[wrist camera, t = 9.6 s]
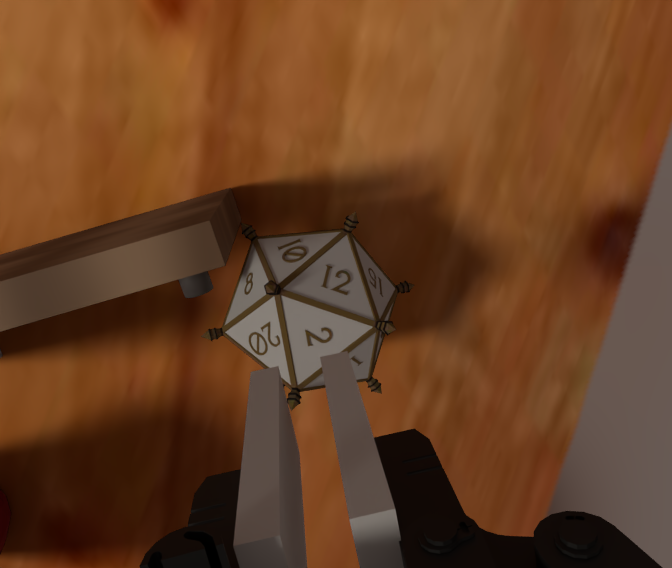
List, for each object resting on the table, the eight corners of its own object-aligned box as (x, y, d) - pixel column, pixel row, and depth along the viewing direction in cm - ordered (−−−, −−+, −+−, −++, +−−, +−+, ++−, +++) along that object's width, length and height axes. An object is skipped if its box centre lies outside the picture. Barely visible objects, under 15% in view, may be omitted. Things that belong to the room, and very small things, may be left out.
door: (-47, 337, 28) (-198, 441, 19) (-78, 277, 27) (-253, 357, 18) (251, 250, 28) (239, 312, 19) (230, 187, 27) (207, 222, 18)
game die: (306, 299, 34) (270, 464, 28) (208, 202, 29) (136, 377, 22) (447, 257, 29) (441, 443, 23) (360, 133, 24) (323, 328, 18)
